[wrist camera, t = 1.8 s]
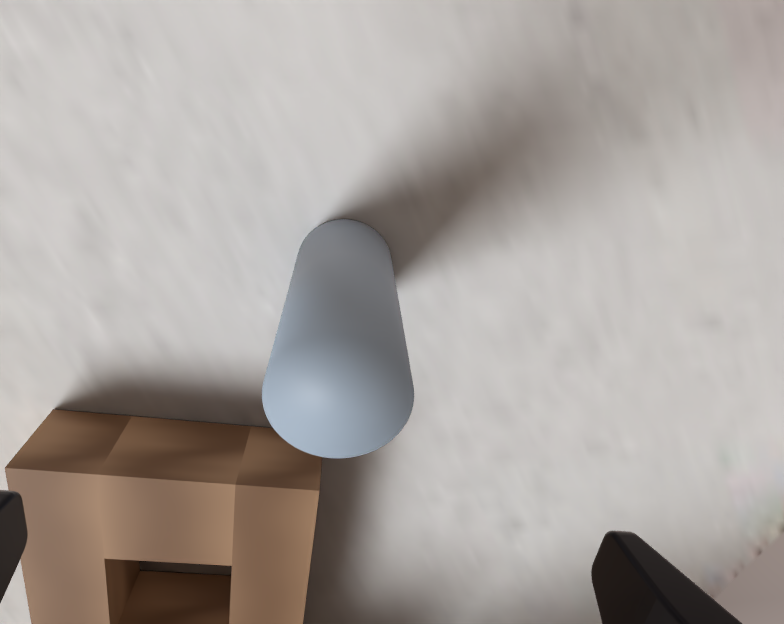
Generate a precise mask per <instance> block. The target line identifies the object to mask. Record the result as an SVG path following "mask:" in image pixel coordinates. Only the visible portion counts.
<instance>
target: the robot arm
mask: <svg viewBox="0 0 784 624" xmlns="http://www.w3.org/2000/svg"><path fill="white" fill-rule="evenodd" d="M27 537H28V531H27V524H26V518H25V512H24V506H23V500H22V497H21V495H20V494H19V493H18V492H15V491H6V490H0V603H1V600H2V598H3V596H4V594H5V592H6V589H7V587H8V585H9V583H10V581H11V578H12V576H13V574H14V572H15V570H16V567H17V565H18V563H19V561H20V558H21V556H22V554H23V552H24V549H25V546H26V543H27ZM591 576H592V583H593V587H594V591H595V595H596V599H597V603H598V607H599V611H600V615H601V620H602V624H742V623H741V622H739V621H738V620H737V619H736V618H735V617H734V616H733V615H731V614H730V613H729V612H728V611H727V610H725V609H724V608H723V607H722V606H721V605H719V604H718V603H717V602H716V601H715V600H714V599H712V598H711V597H710V596H709V595H708V594H706V593H705V592H704V591H703V590H702V589H700V588H699V587H698V586H697V585H696V584H695V583H693V582H692V581H691V580H690V579H689V578H687V577H686V576H685V575H684V574H683V573H681V572H680V571H679V570H678V569H677V568H676V567H674V566H673V565H672V564H671V563H670V562H668V561H667V560H666V559H665V558H664V557H662V556H661V555H660V554H659V553H658V552H657V551H655V550H654V549H653V548H652V547H651V546H649V545H648V544H647V543H646V542H645V541H643V540H642V539H641V538H640V537H639V536H637V535H636V534H634V533H632V532H625V531H609V532H608V533H606V534H605V536H604V538H603V541H602V543H601V545H600V548H599V550H598V553H597V555H596V558H595V560H594V562H593V565H592V571H591Z"/></svg>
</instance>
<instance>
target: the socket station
mask: <svg viewBox="0 0 784 624" xmlns="http://www.w3.org/2000/svg"><path fill="white" fill-rule="evenodd" d="M321 466H322V457H320V456H316V455H312V454H309V453H306V452H304V451H302V450H300V449H297V448H295V447H294V446H292V445H291V444H289V443H288V442H287V441H285V440H284V439H283V438H282V437H281V436H280V435H279V434H278V433H277V432H276V431H275V430H274V428H266V427H254V426H242V425H231V424H219V423H207V422H195V421H184V420H172V419H160V418H148V417H137V416H125V415H113V414H101V413H90V412H78V411H66V410H54V409H53V410H52V412H51V413H50V414H49V415H48V416H47V418H46V419H45V420H44V421H43V422H42V424H41V425H40V426H39V427H38V428H37V430H36V431H35V432H34V433H33V435H32V436H31V437H30V438H29V439H28V441H27V442H26V443H25V444H24V445H23V447H22V448H21V449H20V450H19V451H18V453H17V454H16V455H15V456H14V457H13V459H12V460H11V461H10V462H9V464H8V465H7V466H6V467H5V472H6V478H7V483H8V489H9V491H15V492H18V493H19V494H20V495H21V497H22V500H23V506H24V512H25V518H26V524H27V531H28V537H27V543H26V546H25V549H24V552H23V554H22V556H21V558H20V559H21V565H22V571H23V576H24V582H25V588H26V594H27V600H28V606H29V611H30V617H31V623H32V624H303V618H304V610H305V602H306V595H307V587H308V579H309V571H310V563H311V555H312V547H313V539H314V531H315V523H316V515H317V507H318V499H319V491H320V479H321ZM139 561H155V562H173V563H190V564H208V565H226V566H232V571H231V576H227V575H209V574H191V573H172V572H154V571H140V563H139Z"/></svg>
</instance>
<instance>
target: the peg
mask: <svg viewBox="0 0 784 624" xmlns="http://www.w3.org/2000/svg"><path fill="white" fill-rule="evenodd" d="M262 402H263V408H264V411H265V414H266V416H267V418H268V420H269V422H270V424H271V425H272V427H273V428H274V430H275V431H276V432H277V433H278V434H279V435H280V436H281V437H282V438H283V439H284V440H285V441H287V442H288V443H289V444H291V445H292V446H294V447H295V448H297V449H300V450H302V451H304V452H306V453H309V454H312V455H316V456H320V457H326V458H351V457H356V456H360V455H364V454H367V453H370V452H372V451H375V450H377V449H379V448H380V447H382V446H384V445H385V444H387V443H388V442H390V441H391V440H392V439H393V438H394V437H395V436H396V435H397V434H398V433H399V432H400V431H401V430H402V428H403V427H404V425H405V424H406V422H407V421H408V418H409V416H410V414H411V411H412V407H413V402H414V387H413V381H412V376H411V370H410V364H409V358H408V352H407V346H406V341H405V335H404V329H403V323H402V317H401V311H400V306H399V300H398V294H397V288H396V282H395V277H394V271H393V265H392V259H391V254H390V251H389V248H388V246H387V244H386V242H385V241H384V239H383V238H382V236H381V235H380V234H379V233H378V232H377V231H375V230H374V229H373V228H371V227H370V226H368V225H366V224H364V223H362V222H359V221H355V220H349V219H339V220H333V221H329V222H326V223H324V224H322V225H320V226H318V227H317V228H315V229H314V230H313V231H311V232H310V233H309V234H308V236H307V237H306V238H305V239H304V241H303V243H302V245H301V247H300V249H299V253H298V256H297V260H296V264H295V267H294V271H293V275H292V278H291V282H290V286H289V289H288V293H287V297H286V301H285V304H284V308H283V312H282V315H281V319H280V323H279V326H278V330H277V334H276V337H275V341H274V345H273V349H272V352H271V356H270V360H269V363H268V367H267V371H266V374H265V378H264V382H263V388H262Z"/></svg>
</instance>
